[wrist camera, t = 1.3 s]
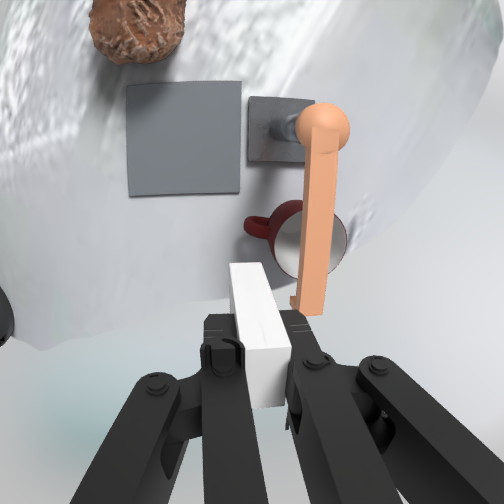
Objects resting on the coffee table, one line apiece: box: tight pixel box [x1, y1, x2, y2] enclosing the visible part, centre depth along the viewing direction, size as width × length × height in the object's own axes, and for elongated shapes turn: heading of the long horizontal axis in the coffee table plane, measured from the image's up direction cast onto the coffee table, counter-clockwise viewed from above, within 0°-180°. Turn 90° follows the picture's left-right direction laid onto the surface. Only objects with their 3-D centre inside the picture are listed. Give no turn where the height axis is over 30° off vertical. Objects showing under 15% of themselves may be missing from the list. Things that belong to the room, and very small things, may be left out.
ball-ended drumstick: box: [290, 103, 350, 316], centre depth 27 cm, size 4×19×4 cm, turn 179°
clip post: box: [248, 96, 315, 162], centre depth 31 cm, size 8×8×14 cm
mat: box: [127, 81, 242, 196], centre depth 36 cm, size 14×14×1 cm
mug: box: [244, 200, 347, 279], centre depth 37 cm, size 11×8×10 cm
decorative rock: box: [89, 0, 187, 65], centre depth 26 cm, size 13×11×10 cm
